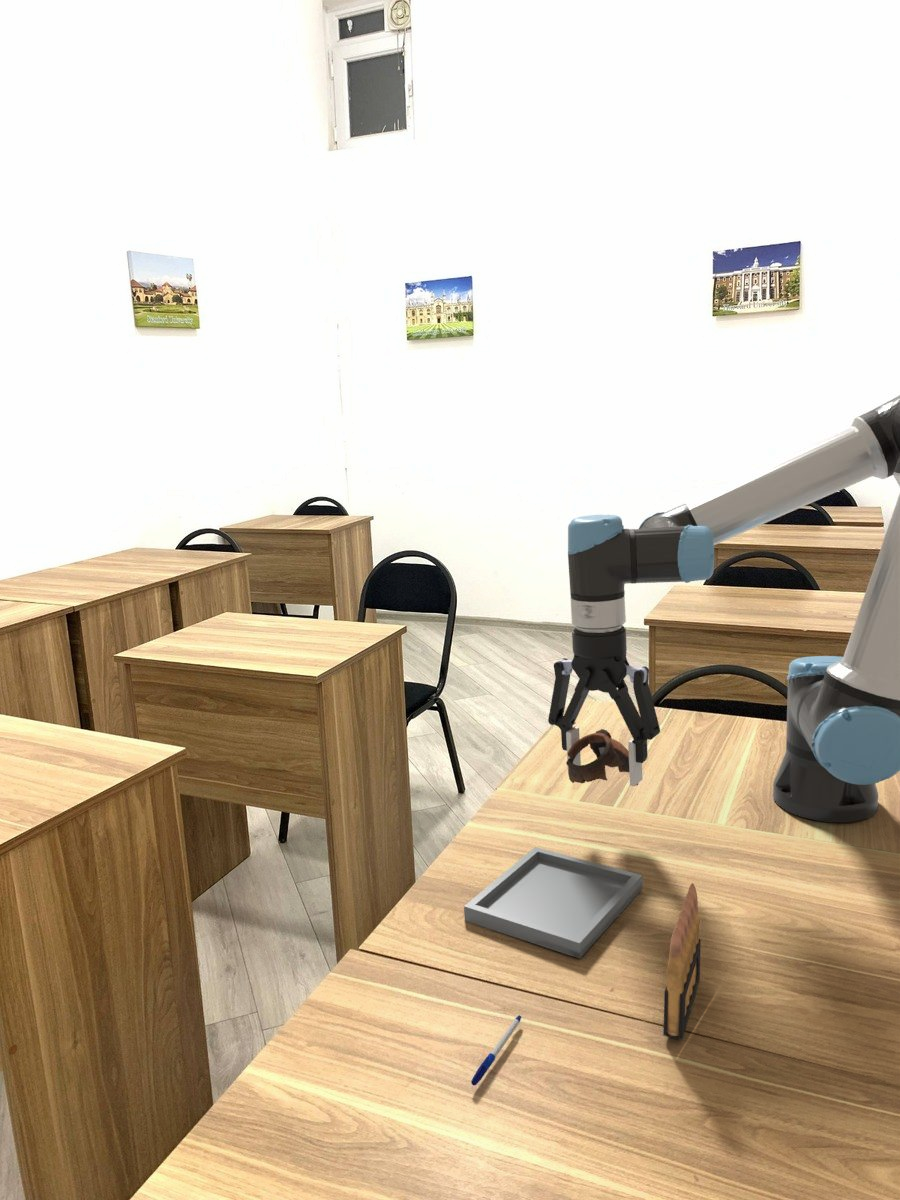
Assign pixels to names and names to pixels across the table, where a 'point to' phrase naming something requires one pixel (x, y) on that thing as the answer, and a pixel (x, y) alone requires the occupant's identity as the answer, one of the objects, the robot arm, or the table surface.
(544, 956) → the table surface
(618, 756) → the broken brown clay pot
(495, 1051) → the ballpoint pen
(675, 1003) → the ammunition clip
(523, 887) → the tray
